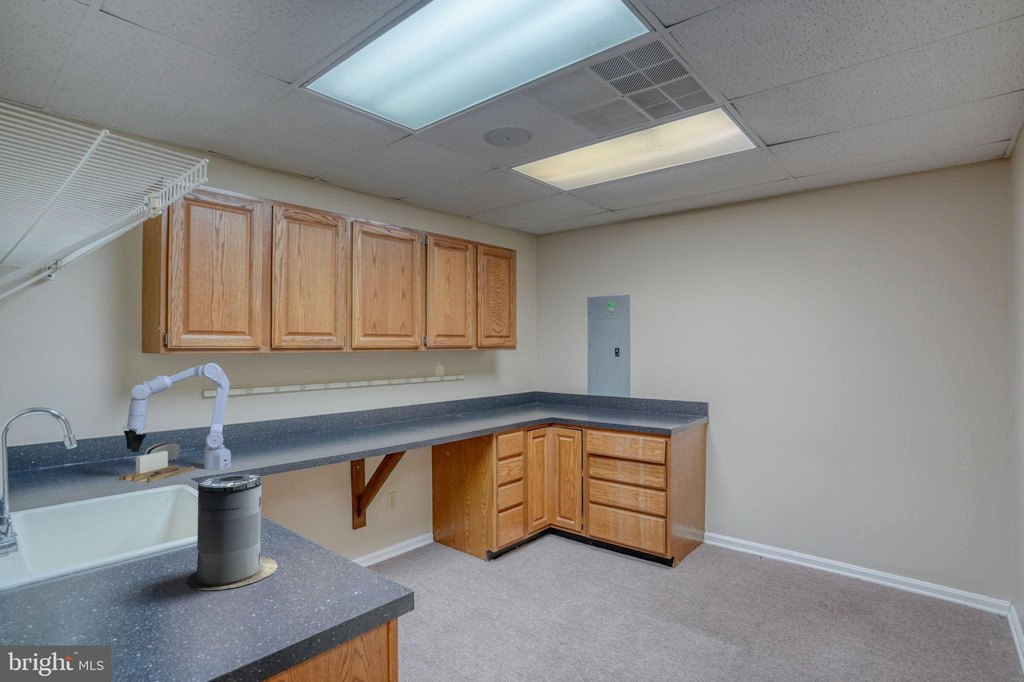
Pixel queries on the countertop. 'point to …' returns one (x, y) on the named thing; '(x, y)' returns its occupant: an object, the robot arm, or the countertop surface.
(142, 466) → the white rectangular block
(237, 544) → the trash can
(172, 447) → the grey curved slab
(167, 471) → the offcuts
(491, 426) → the countertop surface
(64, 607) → the countertop surface
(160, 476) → the rack
